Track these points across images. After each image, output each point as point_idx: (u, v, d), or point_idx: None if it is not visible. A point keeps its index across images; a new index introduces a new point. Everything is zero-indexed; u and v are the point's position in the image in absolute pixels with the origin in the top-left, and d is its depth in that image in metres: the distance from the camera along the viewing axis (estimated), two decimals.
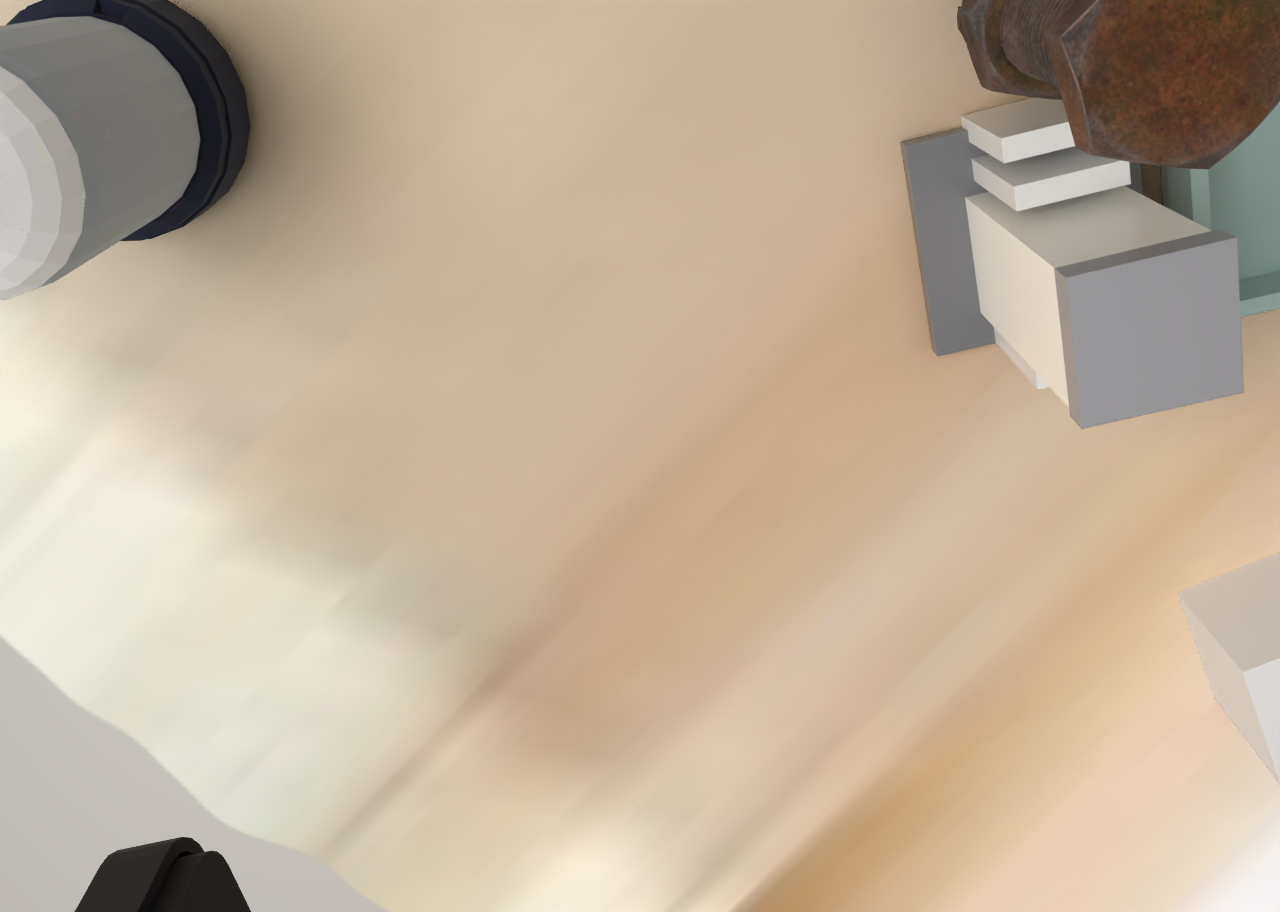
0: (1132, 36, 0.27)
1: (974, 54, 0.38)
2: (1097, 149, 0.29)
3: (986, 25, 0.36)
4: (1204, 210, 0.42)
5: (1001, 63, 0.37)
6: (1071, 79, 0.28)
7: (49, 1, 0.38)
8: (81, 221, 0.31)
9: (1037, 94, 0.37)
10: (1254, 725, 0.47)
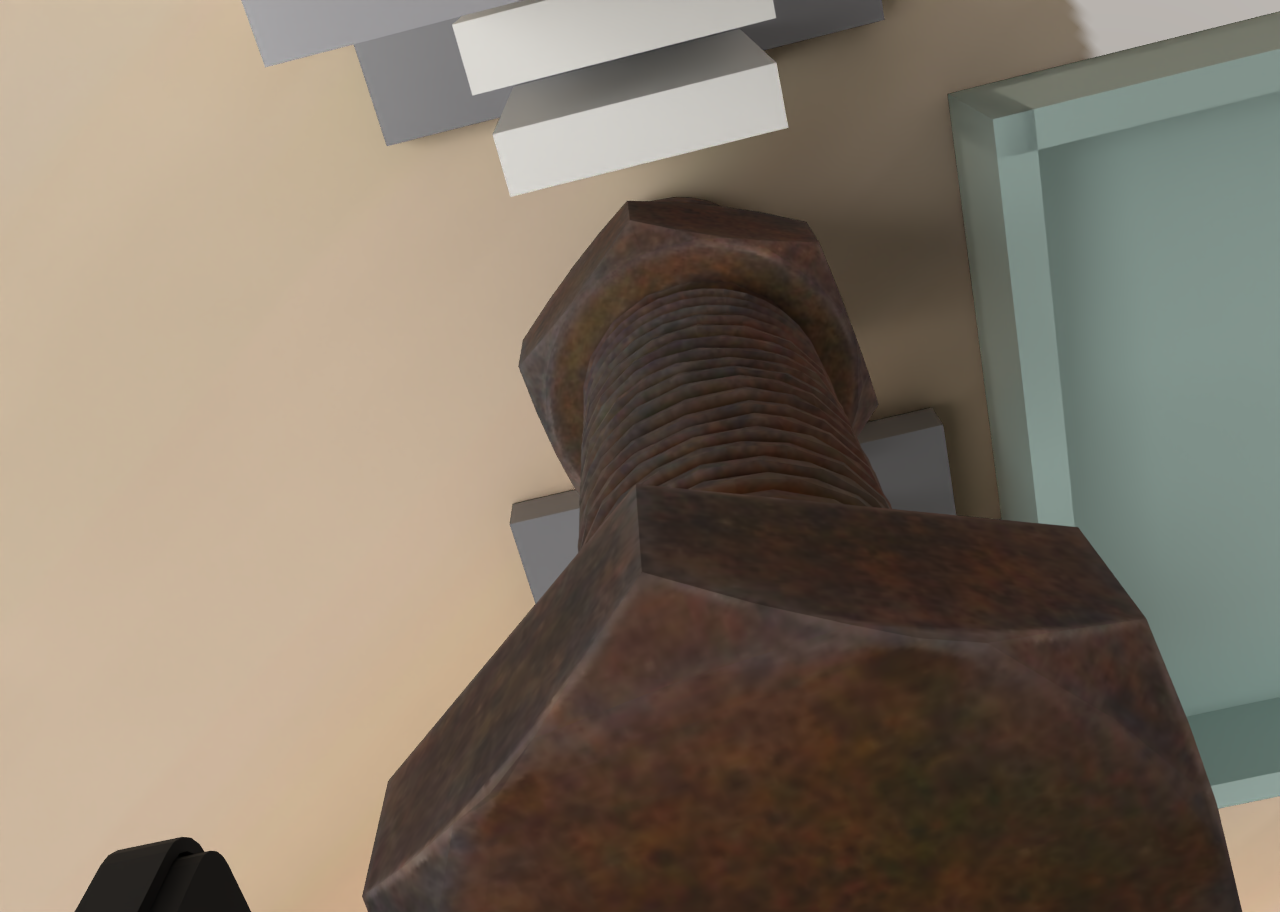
0: None
1: None
2: None
3: (555, 399, 0.16)
4: None
5: None
6: None
7: None
8: None
9: None
10: None
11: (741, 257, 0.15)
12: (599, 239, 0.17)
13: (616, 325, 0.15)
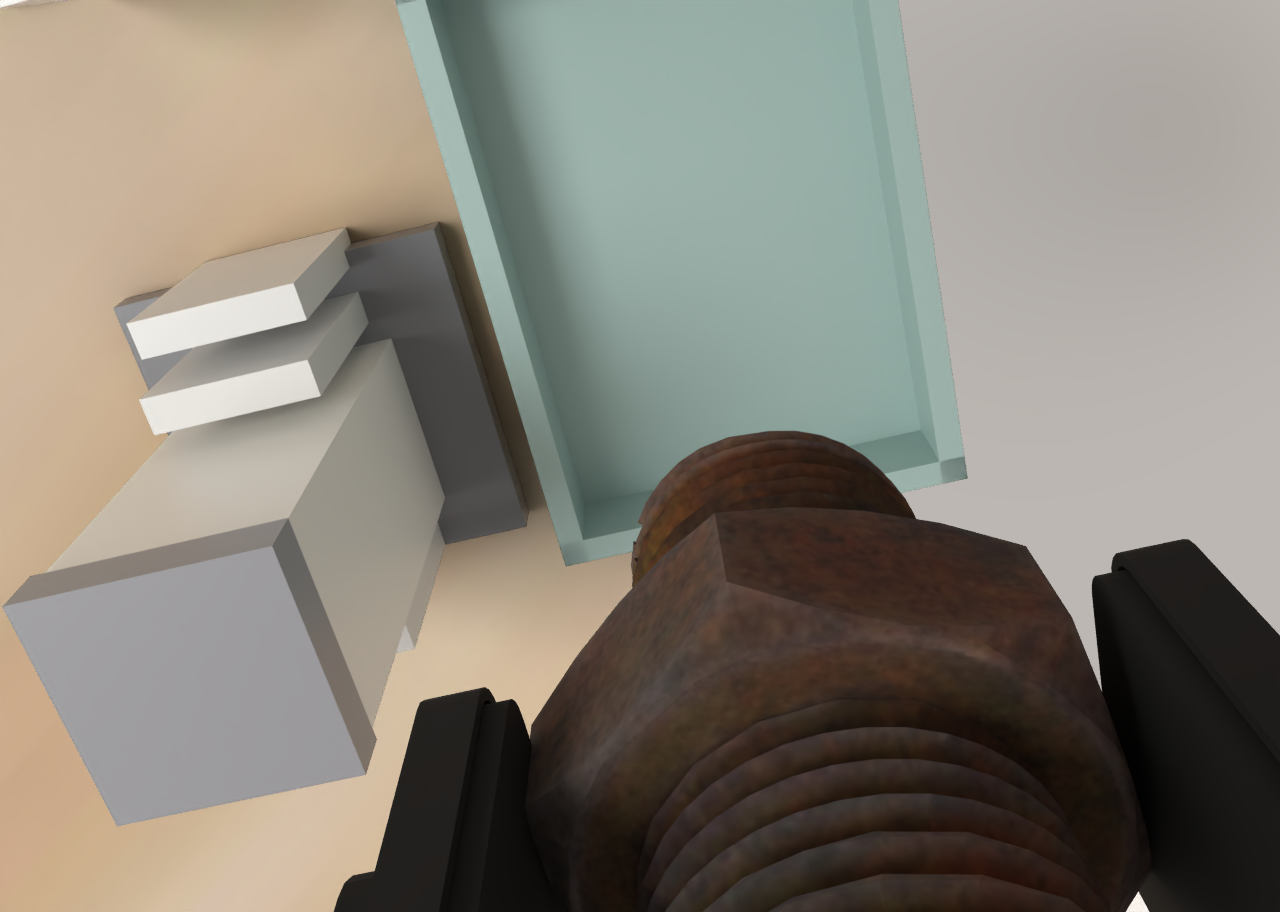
0: None
1: None
2: None
3: (587, 878, 0.09)
4: (535, 409, 0.28)
5: None
6: None
7: None
8: None
9: None
10: None
11: (936, 658, 0.08)
12: (665, 578, 0.09)
13: (700, 774, 0.08)
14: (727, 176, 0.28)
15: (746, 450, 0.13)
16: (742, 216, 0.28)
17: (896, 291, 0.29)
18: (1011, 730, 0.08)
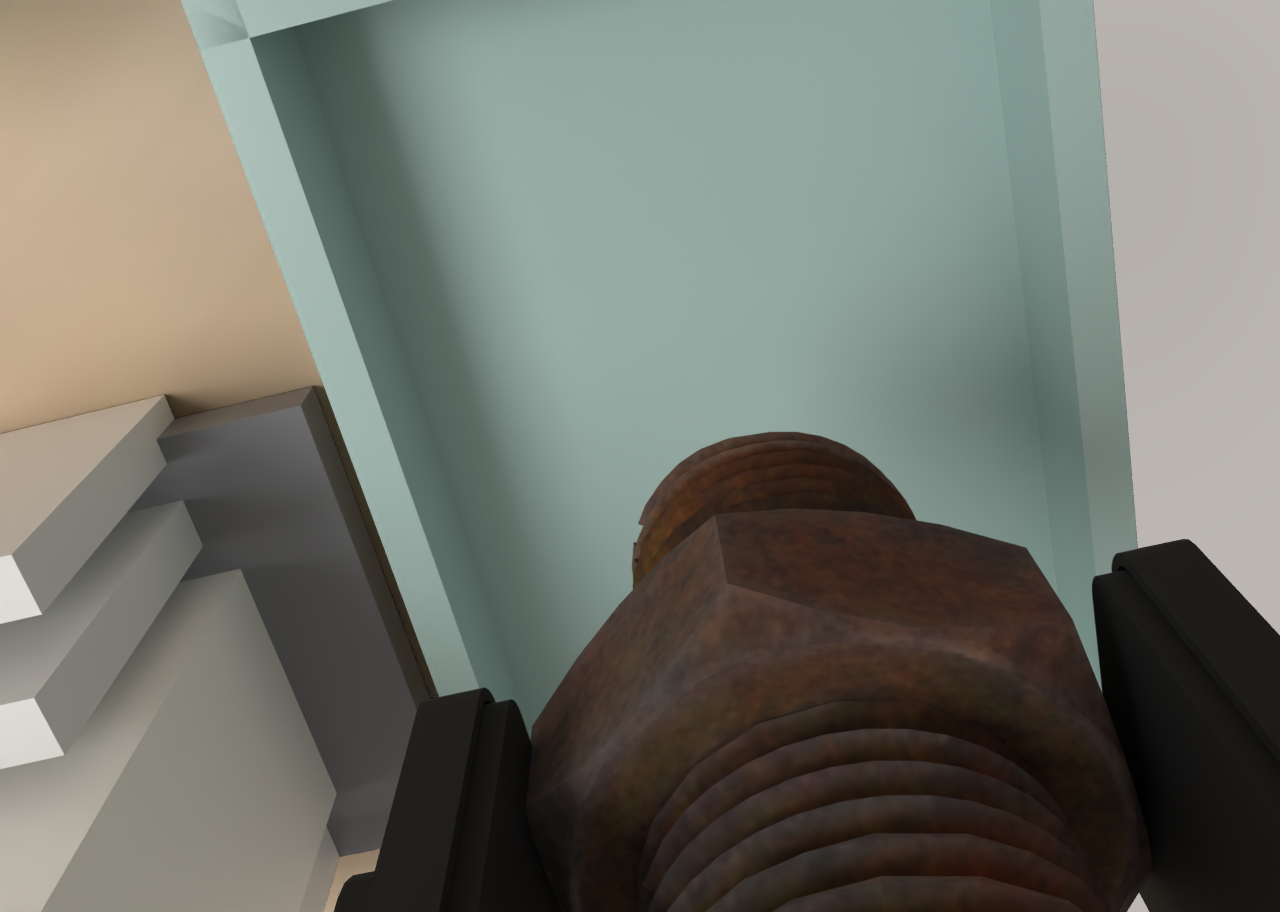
0: None
1: None
2: None
3: (587, 880, 0.09)
4: None
5: None
6: None
7: None
8: None
9: None
10: None
11: (936, 661, 0.08)
12: (665, 579, 0.09)
13: (700, 775, 0.08)
14: (778, 319, 0.17)
15: (746, 451, 0.13)
16: (801, 380, 0.18)
17: (1043, 492, 0.18)
18: (1011, 731, 0.08)
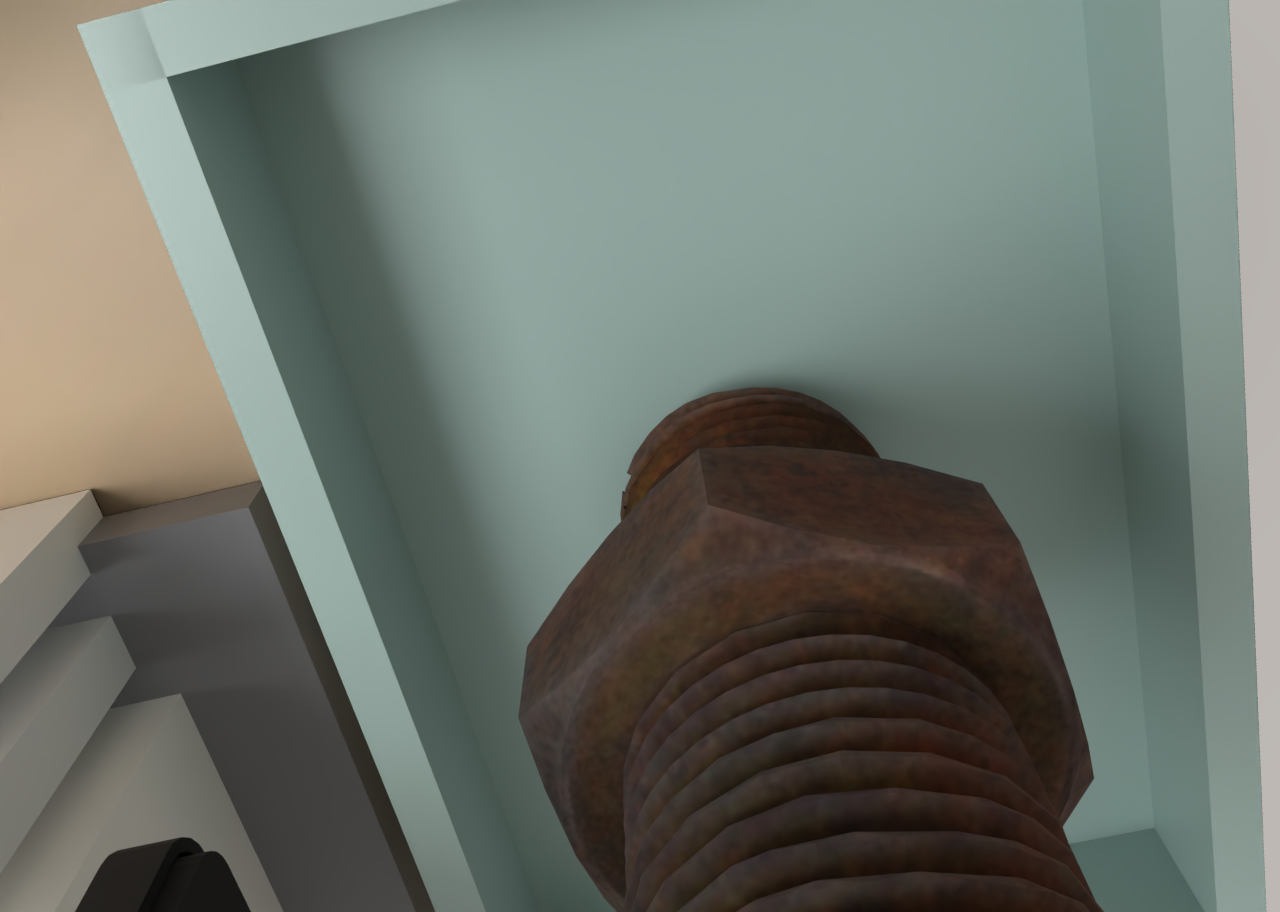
0: None
1: None
2: None
3: (577, 778, 0.10)
4: (447, 856, 0.14)
5: None
6: None
7: None
8: None
9: None
10: None
11: (896, 575, 0.09)
12: (652, 508, 0.10)
13: (682, 679, 0.09)
14: None
15: (729, 404, 0.13)
16: None
17: (1131, 605, 0.16)
18: (964, 643, 0.09)
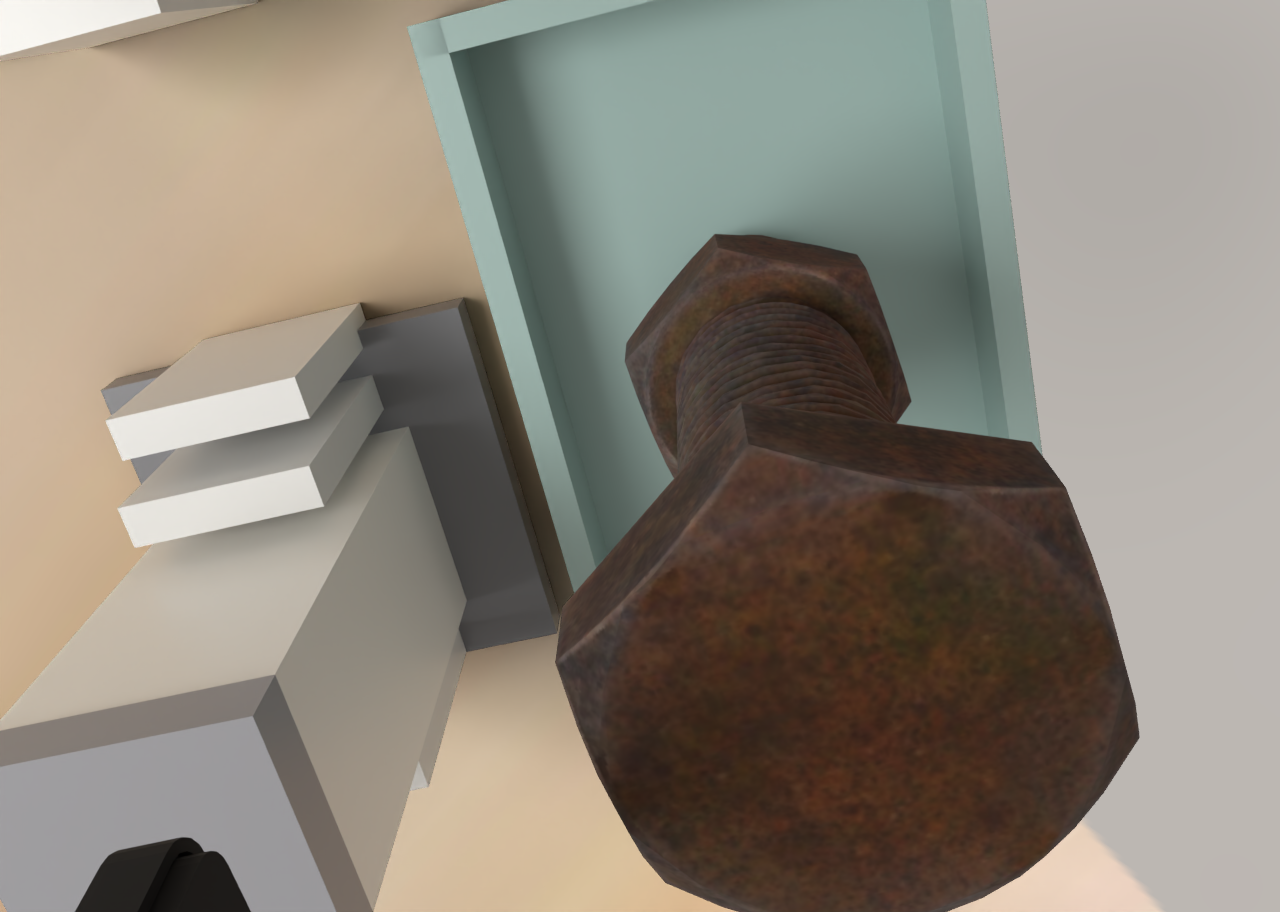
0: (713, 684, 0.11)
1: None
2: (671, 881, 0.12)
3: (653, 388, 0.20)
4: (569, 510, 0.25)
5: None
6: (593, 747, 0.12)
7: None
8: None
9: None
10: None
11: (804, 278, 0.19)
12: (691, 263, 0.21)
13: (704, 329, 0.20)
14: None
15: None
16: None
17: (978, 379, 0.26)
18: (838, 315, 0.20)
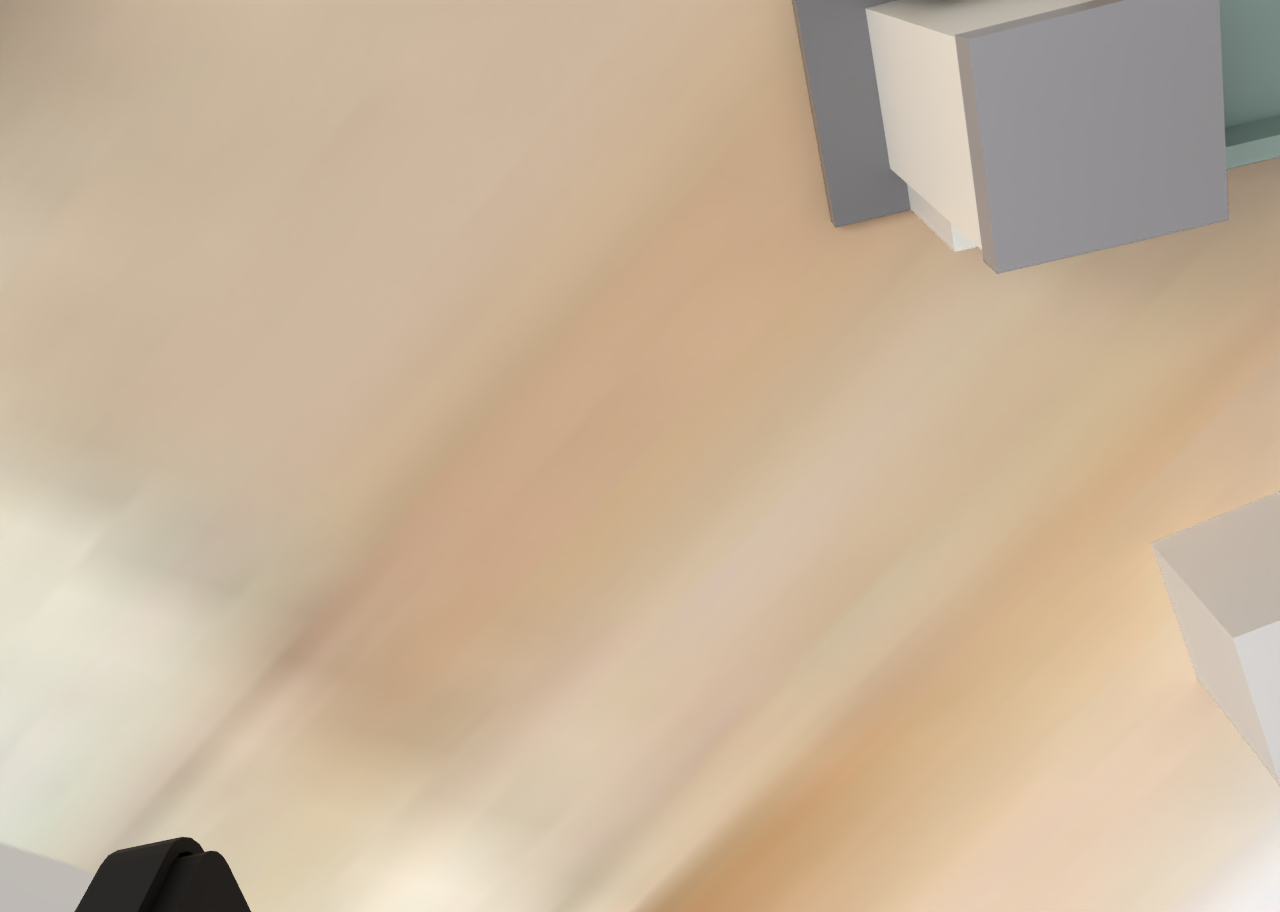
0: None
1: None
2: None
3: None
4: None
5: None
6: None
7: None
8: None
9: None
10: (1247, 708, 0.37)
11: None
12: None
13: None
14: None
15: None
16: None
17: None
18: None
